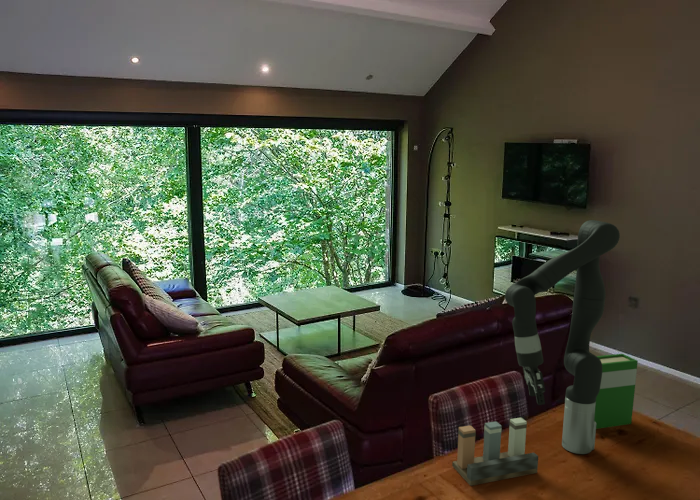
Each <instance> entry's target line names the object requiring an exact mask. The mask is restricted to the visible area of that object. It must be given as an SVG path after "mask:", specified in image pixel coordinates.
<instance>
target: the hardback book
mask: <svg viewBox="0 0 700 500" xmlns="http://www.w3.org/2000/svg"><path fill="white" fill-rule="evenodd" d="M597 357H598V358H599V359H600V360H601V363H602V378H601V385H600V391H599V394H598V395H597V397H596V406H595V418H594V421H595V422H596V430H598V429H599V430H600V429H603V428H612V427H618V426H619V427H620V426H625V425H626V426H627V425H632V419H633V413H634V411H633V409H634V402H635V400H634V399H635V392H636V381H637V373H638V371H637V370H638V363H639V361H638V360H637V359H635V358H633V357H631V356H629V355H626V354H624V353H614V354H607V355H606V354H605V355H597Z"/></svg>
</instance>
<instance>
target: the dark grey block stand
mask: <svg viewBox="0 0 700 500" xmlns="http://www.w3.org/2000/svg"><path fill="white" fill-rule="evenodd" d="M451 464H452V465H451V466H452V468H453V469H454V470H456V472H457V473H458V475H460V476H461V477H462V479H463V480H464V481H465V482H467V485H469V486H471V487H472V486H477V485H482V484H487V483H491V482H497V481H503V480H506V479H512V478H518V477H524V476H528V475H533V474H537V473H538V467H539V455H538V454H537V453H535V452H529V453H528V452H527V453H525V454H523V455H517V456H512V457H510V456H509V455H508V451H504V452H500V459H495V460H490V461H484V460H483V455H482V456H477V457H475V456H474V463H473V464H467V468H464V469H462V468H461V467H460V466H459V465H458V464H457V460H454V461H452V463H451Z"/></svg>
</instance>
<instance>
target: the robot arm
mask: <svg viewBox="0 0 700 500" xmlns="http://www.w3.org/2000/svg"><path fill="white" fill-rule="evenodd" d="M619 241H620V230H619V229H618V227H617V226H616V225H614V224H612V223H609V222H606V221H602V220H600V221H599V220H594V219H590V220H586V221H585V222H583V223H582V224H581V226H580V228H579V230H578V234H577V246H576V247H575V248H572V249H570V250H568V251H567V252H564V253H562V254H559V255H557V256H554V257H552V258H551V259H550V258H549V260H547V261H546V262H545V263H543V264H541V265H540V266H539V267H537V269H535V270H534V271H532V272H531V273H530V274H528V275H527V276H524V277H522V278H520V279H519V280H517V281H515V282H514V283H513V284H511V285H509V287H507V289H506V290H505V293H504V299H505V302H506V304H508V305H509V306H510V307H513V311H514V317H513V318H512V322H511V323H512V329H513V335H514V346H515V352H516V357H517V358H516V359H517V363H518V365H519V367H522V371H523V375H524V376H523V377H524V381H525V382H526V385H527V386H528V394H529V396H530V397H535V399H536V404H537V405H538V406H541V405H546V402H545V401H546V400H545V395H544V394H545V392H546V388H545V387H546V386H545V382H544V377H543V372H542V371H541V369H539V368H538V367H539V366H540V365H542V364H543V363H544V356H543V351H542V345H541V340H540V336H539V333H538V328H537V327H538V326H537V322H536V318H537V317H536V316H537V315H536V314H537V302H536V300H537V299H536V295H538V294H540V293H544V292H547V291H548V290H550V289H551V288H553V287H554V286H556V284H558V283H559V282H561V281H562V280H563V279H564V278H566V277H567V276H569V275H570V274H572V273H573V272H576V275H575V276H576V277H575V285H574V293H573V299H572V300H573V301H572V313H571V320H570V326H569V333H568V340H567V343H566V346H565V352H564V356H563V366H564V368H565V369H566V371H567V372H568V373H569V374H570V375H572V376H573V377H574V379H573V385H569V386H567V387H566V389H565V398H564V409H563V410H564V411H563V412H564V413H563V425H562V438H561V446H562V448H563V449H565V450H566V451H569V452H570V453H573V454H577V455H587V454H591V452H592V451H594V450H595V443H596V432H597V429H596V422H595V421H594V418H595V406H596V397H597V395H598V394H599V391H600V385H601V378H602V363H601V360H600V359H599V358H598V357H597V356H598V355H597V356H596V355H595V354H594V353H592V352H590V342H591V337H592V336H591V335H592V332H593V330H594V329H595V327H596V326H597V325H598V323H599V322H600V320H601V319H602V317H603V314H604V311H605V304H606V303H605V302H606V296H607V295H606V287H605V282H604V280H603V276H602V273H601V267H600V258H601V257H600V256H603V255H604V254H606V253H608V252H611V250H613V249H615V248H616V246H617V245H618V243H619Z"/></svg>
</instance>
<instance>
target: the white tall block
mask: <svg viewBox="0 0 700 500" xmlns="http://www.w3.org/2000/svg"><path fill="white" fill-rule="evenodd" d="M508 425H509V429H508V430H509V431H508V433H509V434H508V447H507V452H508V455H509V456H510V457H512V456H517V455H523V454H526V453H525V452H526V436H527V427H528V422H527V420H525V419H524V418H523V417H517V418H516V417H514V418H510V419H509V424H508Z"/></svg>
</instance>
